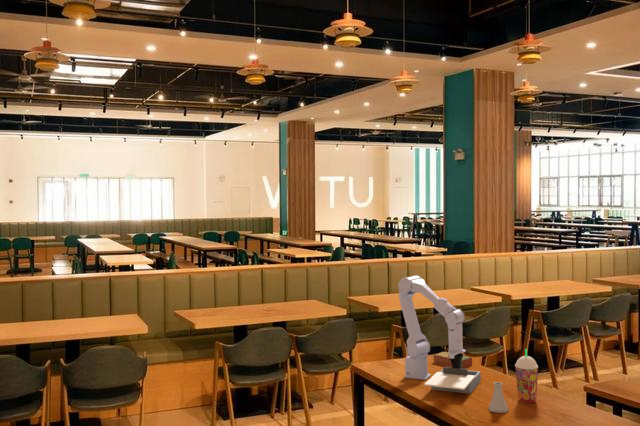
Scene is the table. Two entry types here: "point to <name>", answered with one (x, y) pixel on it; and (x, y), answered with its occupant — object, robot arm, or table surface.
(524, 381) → the smoothie
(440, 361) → the carton
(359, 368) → the table surface
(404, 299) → the robot arm
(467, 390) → the box
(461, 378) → the lid
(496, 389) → the flask
